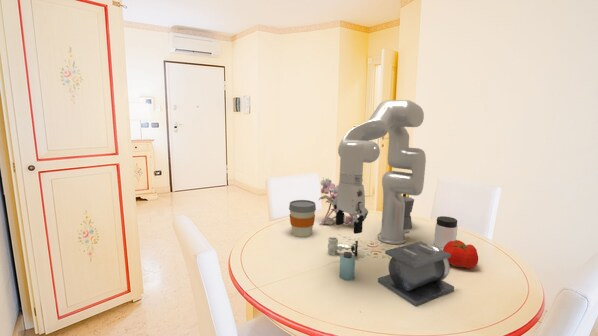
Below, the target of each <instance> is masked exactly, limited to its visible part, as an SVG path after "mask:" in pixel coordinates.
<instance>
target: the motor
mask: <svg viewBox="0 0 598 336" xmlns="http://www.w3.org/2000/svg"><path fill="white" fill-rule="evenodd" d="M384 254H385V255H387V256H389V257H391V258H390V260H389V263H388V273H389V274H386V275H383V276H380V277H378V278H377V283H378V284H380V285H382V286H383V287H384V288H386V289H387V290H389V291H391V292H392V293H394V294H396V295H397V296H399V297H400V298H402V299H404V301H407V302H408V303H410V304H411V305H413V306H414V307H418V306H420V305H423V304H425V303H428V302H430V301H432V300H436V299H437V298H440V297H443V296H444V295H447V294H451V293H452V292H454V291H455V285H452V284H450V283H448V282H446V281H444V280H445V279H447V278H448V276H449V274H450V263H449V262H448V259H447V258H449V257H451V254H449V253H447V252H444V251H443V250H442V248H440V247H439V246H437V245H435V244H434V245H433V244H427V243H425V242H423V241H420V240H419V241H417V242H413V243H410V244H405V245H402V246H397V247H394V248H391V249H386V250H384Z"/></svg>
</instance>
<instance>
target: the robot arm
mask: <svg viewBox="0 0 598 336" xmlns="http://www.w3.org/2000/svg"><path fill="white" fill-rule="evenodd" d="M424 115H425V113H424V110H423V108H422V107H421V106H420V105H419V104H417V103H416V102H414V101H412V100H408V99H389V100H388V99H387V100H383V101H381V102H380V103H379V104H378V106H376V109H375V110H374V111H373V113H372V114H371V115H370V117H369V119H368V120H367V121H366V120H365V121H364V122H362V123H360V124H358V125H356V126H353V128H350V129H349V130H348V131H347V132H346V133H345V134H344V136H343V137H342V139H341V141H340V143H339V145H338V147H337V153H338V156H339V157H340V160H339V162H340V163H339V177H338V178H339V181H338V184H337V185H338V191H337V198H335V199H333V203H334V208H335V211H334V214H335V216H336V218H335V226H336V225H337V226H340V225H345V224H344V222H345V216H344V215H345V213H347V214H348V215H349V214H351V215H353V217H354V219H355V222H354V226H353V234H354V235H355V234H361V233H362V232H363V223H364V222H365V220H366V218H367V217H368V214H369V210H368V208H367V207H366V196H365V193H366V192H365V187H364V186H365V185H364V184H363V174H364V173H363V171H364V164H365V163H367V164H370V163H374V162H375V161H377V160H378V159H379V157H380V154H381V153H380V152H381V150H380V146H379V145H378V143H376V142H375V140H377V139H381V138H383V137H385V136H386V135H387V134H388V146H387V147H388V148H387V165H388V166H389V167H390V168H394V169H398V170H399V169H401V170H410V171H411V172H406V171H397V170H391V171H390V170H388V171H386V172H385V173H383V175H382V178H381V185H382V194H383V195H382V196H383V197H382V214H381V216H382V217H381V231H380V232H379V233H377V239H378V240H379V241H380V242H382V243H386V244H389V245H401V244H404V243H405V242H406V241H407V237H406V236H405V235H406V234H410V232H411V229H410V230H409V229H405V230H404V229H403V224H404V210H405V202H404V199H403V197H402V196H403V194H406V196H407V195H408V196H415V197H416V196H419V195H421V194H422V192H423V189H424V186H425V185H424V184H425V174H426V173H425V172H426V163H427V162H426V161H427V160H426V159H427V158H426V153H425V151H424V150H423V149H421V148H417V147H410V146H409V145H410V134H409V132H408V130H407V129H406V128H418V127H420V126H421V125H423V122H424V119H425V116H424ZM373 140H374V141H373ZM343 211H344V212H343ZM342 212H343V213H342ZM336 213H337V214H336Z"/></svg>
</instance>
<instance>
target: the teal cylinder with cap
mask: <svg viewBox="0 0 598 336" xmlns="http://www.w3.org/2000/svg"><path fill="white" fill-rule="evenodd" d="M355 269H356V256H355V254H353V253H352V251H351V252H350V251H344V252H343V253H342V254H340V256H339V278H340V279H341V280H342V281H353V280H354V279H355Z"/></svg>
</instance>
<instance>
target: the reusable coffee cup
mask: <svg viewBox="0 0 598 336" xmlns="http://www.w3.org/2000/svg"><path fill="white" fill-rule="evenodd" d="M288 210H289V222H290V225H291V232H292V236H294V237H297V238H308V237H311V236H312V233H313V232H312V231H313V227H314V224H315V218H316V214H315V213H316V210H317V207H316V202H315V201H313V200H307V199H296V200H292V201H290V202H289V206H288Z"/></svg>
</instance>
